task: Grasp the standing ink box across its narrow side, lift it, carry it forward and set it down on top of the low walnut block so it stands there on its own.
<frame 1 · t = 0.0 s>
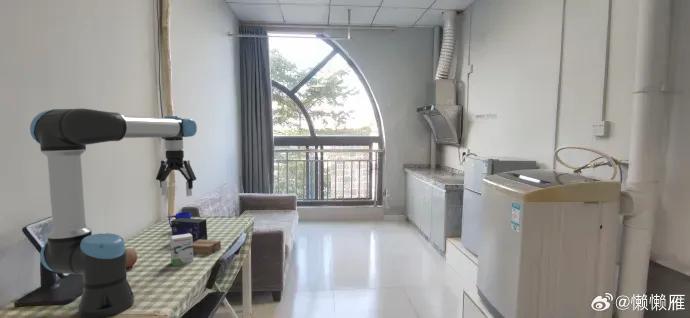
hand: (176, 195, 165), 28 cm above the table, fingers open, 13 cm apart
walnut block: (204, 250, 171), on the table
mug: (180, 230, 209), on the table
box: (190, 242, 186), on the table
fruit: (126, 268, 151), on the table
ink box: (182, 262, 157), on the table
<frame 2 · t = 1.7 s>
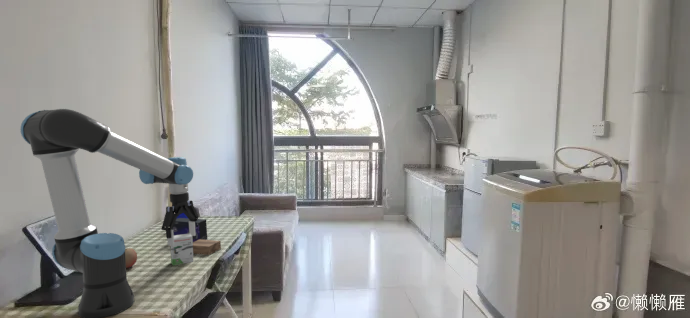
hand: (182, 240, 156), 10 cm above the table, fingers open, 13 cm apart
nothing on the table moved.
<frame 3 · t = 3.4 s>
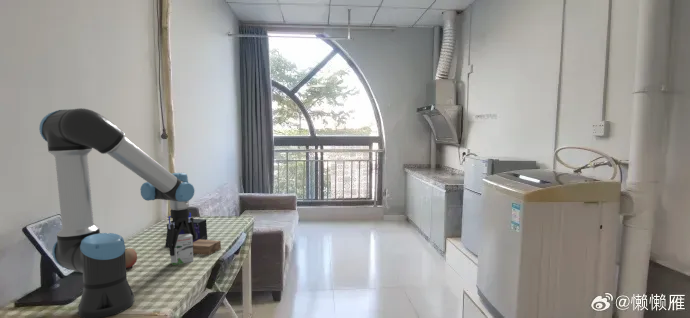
hand: (182, 258, 157), 2 cm above the table, fingers closed on ink box, 9 cm apart
ink box: (182, 262, 157), on the table, touching gripper
everything else where it was.
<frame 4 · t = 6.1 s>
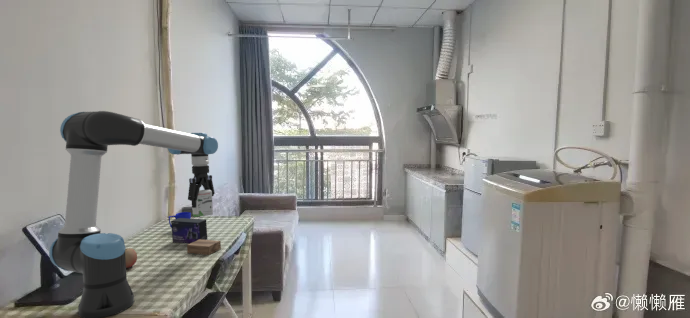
hand: (202, 211, 170), 19 cm above the table, fingers closed on ink box, 9 cm apart
ink box: (202, 215, 170), point 17 cm above the table, touching gripper
everything else where it was.
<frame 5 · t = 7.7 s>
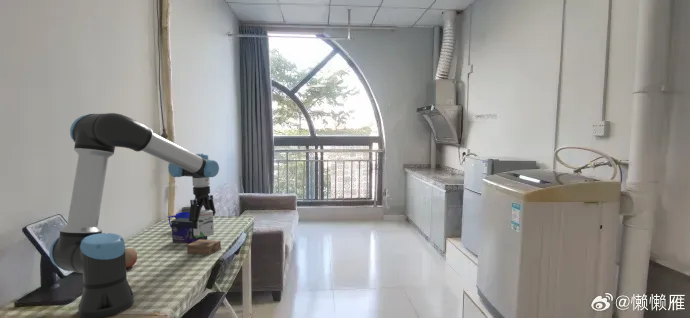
hand: (203, 232, 170), 9 cm above the table, fingers closed on ink box, 9 cm apart
ink box: (203, 235, 171), point 7 cm above the table, touching gripper
everything else where it was.
when the fingers open (7 cm above the table, at t = 9.2 s): ink box drops 1 cm, resting on walnut block.
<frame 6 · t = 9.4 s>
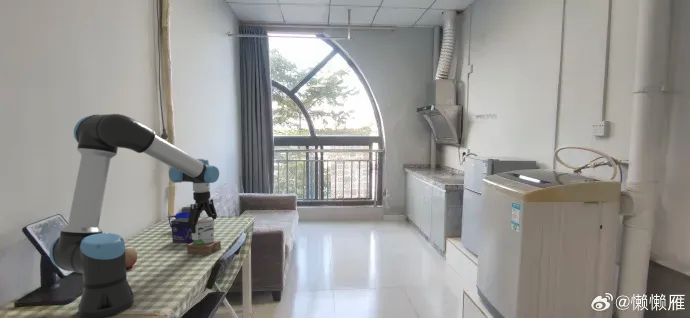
hand: (203, 235, 171), 7 cm above the table, fingers open, 11 cm apart
ink box: (204, 243, 171), point 4 cm above the table, touching walnut block
everything else where it was.
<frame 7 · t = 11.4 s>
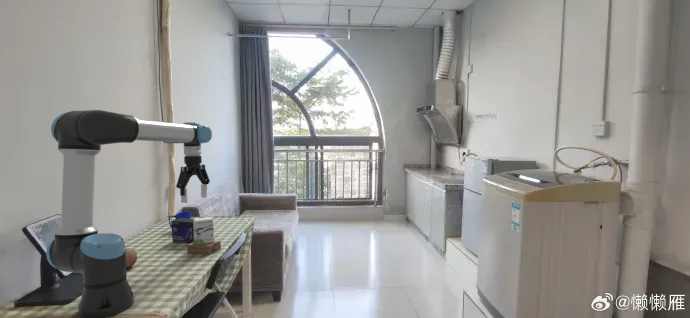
hand: (194, 200, 168), 25 cm above the table, fingers open, 13 cm apart
nothing on the table moved.
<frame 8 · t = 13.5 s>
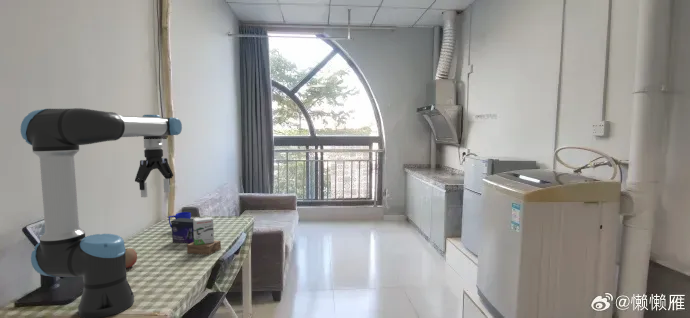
hand: (156, 194, 164), 29 cm above the table, fingers open, 13 cm apart
nothing on the table moved.
at the end: ink box inside the target area on the walnut block (0.2 cm from its centre), point 3.8 cm above the walnut block's base; ink box tilted 0°; the gripper is holding nothing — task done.
